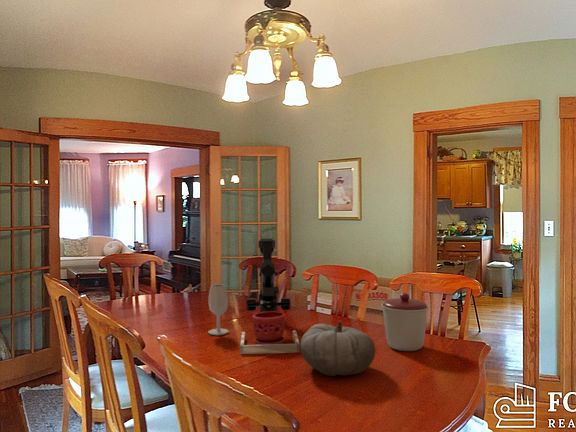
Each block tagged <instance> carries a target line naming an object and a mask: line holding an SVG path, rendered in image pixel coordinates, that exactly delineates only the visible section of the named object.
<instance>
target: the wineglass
mask: <svg viewBox="0 0 576 432" xmlns="http://www.w3.org/2000/svg"><path fill="white" fill-rule="evenodd" d="M207 299H208V302H207V303H208V307H209V311H210V312H212V314H213V315H215V316H216V328H213V329H211V330H208V331H207V333H208V334H209V335H211V336H222V335H223V336H225V335H227V334H230V331H229V329H227V328H222V327H221V316H222V315H223V314H224V313H226V312H227V310H228V307H229V306H228V305H229V296H228V290H227V287H226V285H225V284H224V283H222V284H221V283H214V284H211V285H210V288H209V291H208V298H207Z"/></svg>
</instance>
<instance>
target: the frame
mask: <svg viewBox="0 0 576 432" xmlns="http://www.w3.org/2000/svg"><path fill="white" fill-rule="evenodd" d="M240 338H241V339H240V343H239V344H240V345H239V354H240V355H256V354H257V355H258V354H260V355H261V354H262V355H263V354H287V353H288V354H290V353H294V354H295V353H301V342H300V341H299V337H298V333H297V331H296V330H292V338H293V339H292V340H293V343H282V344H263V345H258V344H245V343H246V331H241V337H240Z"/></svg>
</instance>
